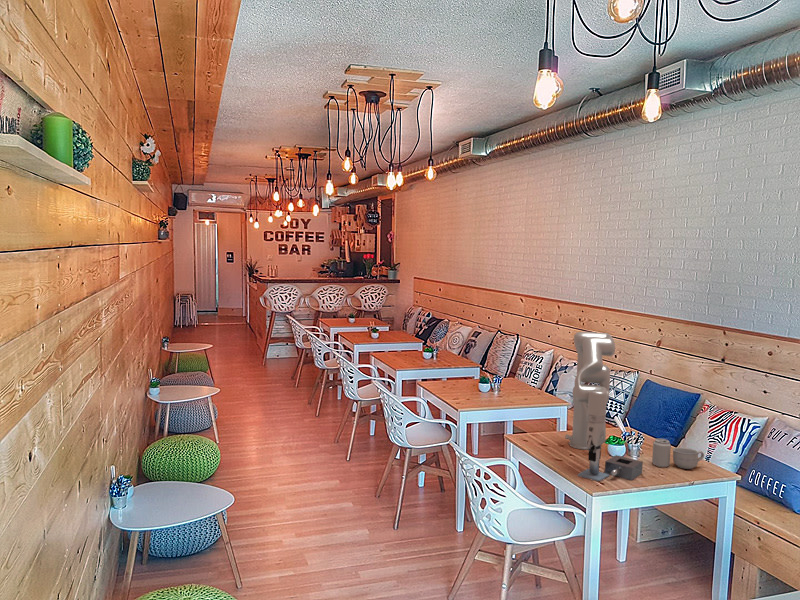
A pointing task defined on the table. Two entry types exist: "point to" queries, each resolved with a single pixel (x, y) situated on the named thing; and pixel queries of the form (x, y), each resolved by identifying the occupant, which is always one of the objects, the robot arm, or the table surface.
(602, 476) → the mat
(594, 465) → the grey tall cylinder
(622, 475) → the block
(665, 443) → the can
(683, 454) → the teacup
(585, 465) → the table surface
